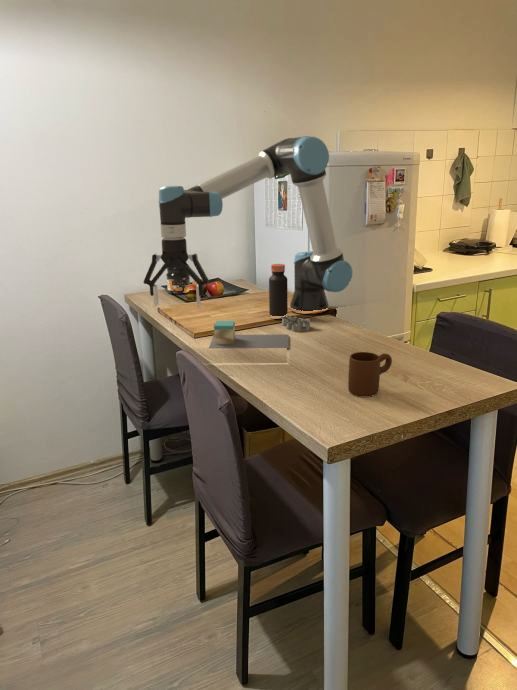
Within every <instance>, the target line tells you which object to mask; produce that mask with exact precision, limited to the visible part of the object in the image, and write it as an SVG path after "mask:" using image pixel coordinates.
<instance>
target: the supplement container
mask: <svg viewBox="0 0 517 690" xmlns="http://www.w3.org/2000/svg"><path fill="white" fill-rule="evenodd" d="M166 271H167V272H166V287H167V292H168V294H170V295H173V294H172V293H173V292H177V293H183V291H184V288H185V286H186V285H188V284H190V285H191V279H190V277H191V276H190V275H189V274H188V273H187V272H186V271H185V270H184V269H183V268H180V269H176V268H174V269H170V268H168V267H167V268H166Z"/></svg>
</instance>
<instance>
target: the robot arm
mask: <svg viewBox="0 0 517 690" xmlns="http://www.w3.org/2000/svg"><path fill="white" fill-rule="evenodd" d="M329 161H330V153H329V149H328V147H327V145H326V144H325V142H324V141H323V140H322V139H320V138H319V137H316V136H310V135H306V136H305V135H304V136H297V137H296V136H295V137H290V138H289V137H288V138H285V139H283V140H280V141H278V142H276V143H274V144H273V145H271V146H269V147H267V148H265V149H263V150H261V151H260V152H258V154H257V156H255V157H253V158H251V159H249V160H247V161H245V162H243V163H241V164H239V165H236V166H235V167H233V168H230V169H228V170H226V171H225V172H224V171H223V172H222V173H220V174H218V175H215V176H214V177H212V178H209V179H207V180H205V181H203V182H201V183H199V184H196V185H194V186H193V187H191V188H188V189H184V187H183V186H181V185H163V186H161V187H160V188H159V189H158V204H159V205H158V208H159V218H160V235H161V238H162V239H161V252H162V253H161V254H158V253H153V255H151V262H150V265H149V267H148V270H147V273H146V274H145V278H144V280H143V284H144V285H148V286H149V294H150V297H151V296H152V297H153V304H154V305H153V307H155V308H158V306H159V290H158V284H156V282H157V281H158V280H159V279H160V277H161V276H162V275H163V274H164V272H166V271H167V267H168V268H170V269H174V268H176V269H180V268H183V269H184V270H185V271H186V272H187V273H188V274H189V275H190V277H191V278H192V280H193V281H194V282H195V283H196V284H197V285H196V287H195V291H196V292H195V293H196V294H195V295H196V307H198V308H200V307H201V306H202V305H201V297H202V296H203V295H204V285H206V284H209V278H208V276H207V274H206V272H205V270H204V269H203V266H202V265H201V263H200V261H199V258H198V254H197V253H193V254H192V253H191V254H188V250H187V249H188V248H187V239H186V237H187V230H186V219H188V218H208V217H209V218H211V217H218V216H220V215H221V214H222V211H223V199H225V198H227V197H229V196H231V195H233V194H236V193H237V192H240V191H241V190H244V189H245V188H248V187H250V186H251V185H254V184H255V183H258V182H260V181H262V180H264V179H266V178H267V179H269V180H270V179H273V178H275V177H277V176H283V175H290V179H291V182H292V184H293V185H294V186H296V187H297V190H298V192H299V193H298V194H299V196H300V197H299V198H300V201H301V205H302V210H303V214H304V219H305V223H306V227H307V230H308V231H307V232H308V238H309V241H310V244H311V249H312V250H311V251H302V252H297V253H296V254H294V262H293V264H294V291H293V294H292V298H291V301H290V304H289V308H290V307H291V308H293V309H296V310H301V311H302V310H303V311H313V310H322V309H326V308H328V307H329V306H330V305H329V301H328V298H327V295H326V292H325V291H327V292H330V293H331V292H332V293H339V292H341V291H343V290H345V289H346V288H347V287H348V286H349V285H350V282H351V281H352V279H353V268H352V265H351V264H350V263H349V262H348V261H347V260H345V259H344V254H343V253H344V252H343V250H342V249H340V248H339V247H338V246H337V242H336V237H335V232H334V228H333V227H334V226H333V223H332V218H331V217H332V216H331V214H330V208H329V203H328V198H327V193H326V188H325V185H324V179H325V177H326V176H327V173H326V172H327V171H326V169H327V168H328V163H329ZM160 259H161V261H162V262H163V264H162V266H161V268H160V269H159V270H158V272H157V273H156V274H155V276H153V278H152V279H151V277H152V275H153V273H154V271H155V268H156V265H157V263H158V262H159V261H160ZM188 260H190V262H192V263H193V265H194V267H195V269H196V271H197V273H198V274H199V275H198V274H197V273H196V272H195V271H194V270H193V269H192V268H191V266H190V265H189V264H188V263H187V261H188Z"/></svg>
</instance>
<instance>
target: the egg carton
mask: <svg viewBox="0 0 517 690" xmlns="http://www.w3.org/2000/svg"><path fill="white" fill-rule="evenodd" d="M281 319H282V320H281V325H282V326H286V330H291V332H292V333H293V332H295V333H300V332H302V331H309V330H310V327H311V326H310V325H311V324H310V322H312V320H311V318H301V317H299V318H298V317H297V316H296V315H295V316H294V317H293V316H292V315H291V316H288V317H286V316H285V317H281Z"/></svg>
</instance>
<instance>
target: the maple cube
mask: <svg viewBox="0 0 517 690" xmlns="http://www.w3.org/2000/svg"><path fill="white" fill-rule="evenodd" d="M235 323H236V322H235V320H216V321H215V323H214V326H213V329H214V330H213V333H214V334H213V336H214V335H215V344H234V341H235V335H236V331H235V330H236V324H235Z"/></svg>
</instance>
